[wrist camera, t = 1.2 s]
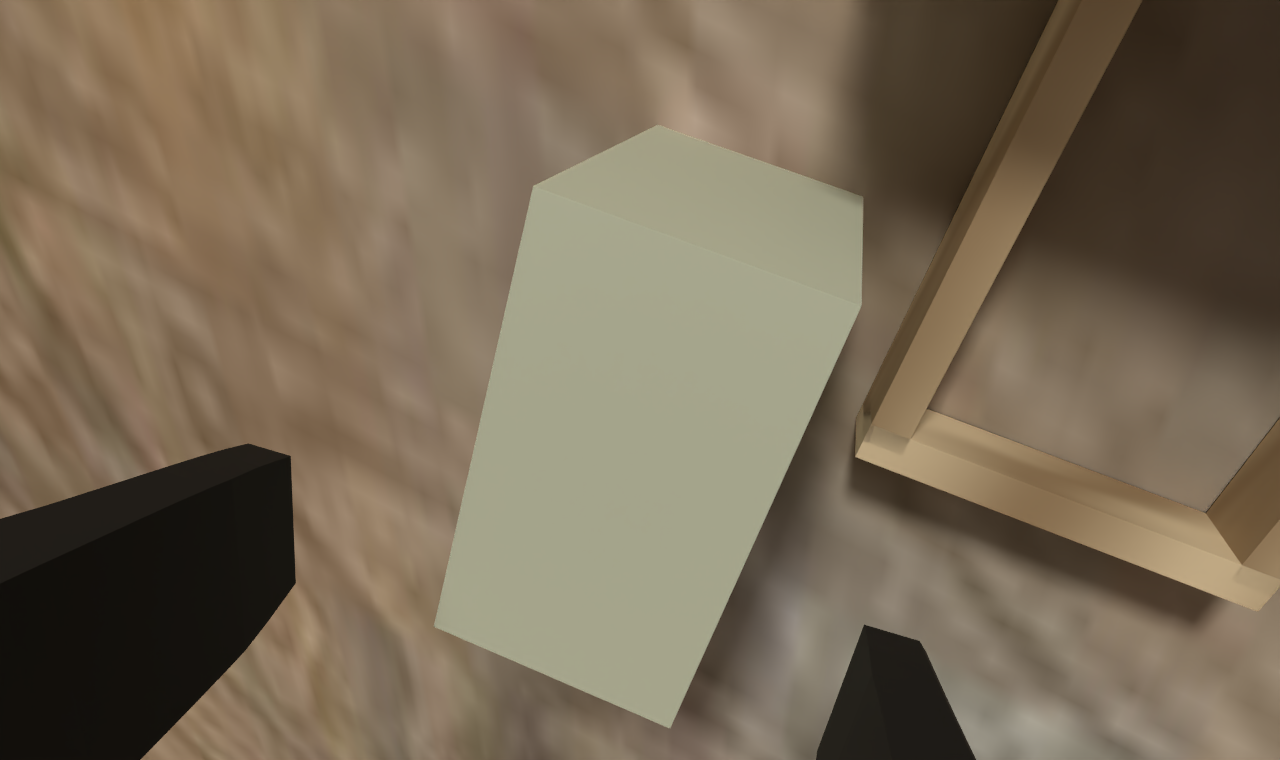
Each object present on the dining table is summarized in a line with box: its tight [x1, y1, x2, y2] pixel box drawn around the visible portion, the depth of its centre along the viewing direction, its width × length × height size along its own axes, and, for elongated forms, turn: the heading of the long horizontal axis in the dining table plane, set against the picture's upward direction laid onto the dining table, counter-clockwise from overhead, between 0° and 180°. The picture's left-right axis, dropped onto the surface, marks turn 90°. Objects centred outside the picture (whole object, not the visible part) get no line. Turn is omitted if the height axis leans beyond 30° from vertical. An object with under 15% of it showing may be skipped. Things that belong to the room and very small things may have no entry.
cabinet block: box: [434, 125, 863, 728], centre depth 15 cm, size 4×8×7 cm, turn 163°
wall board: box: [855, 0, 1280, 612], centre depth 12 cm, size 16×12×6 cm
